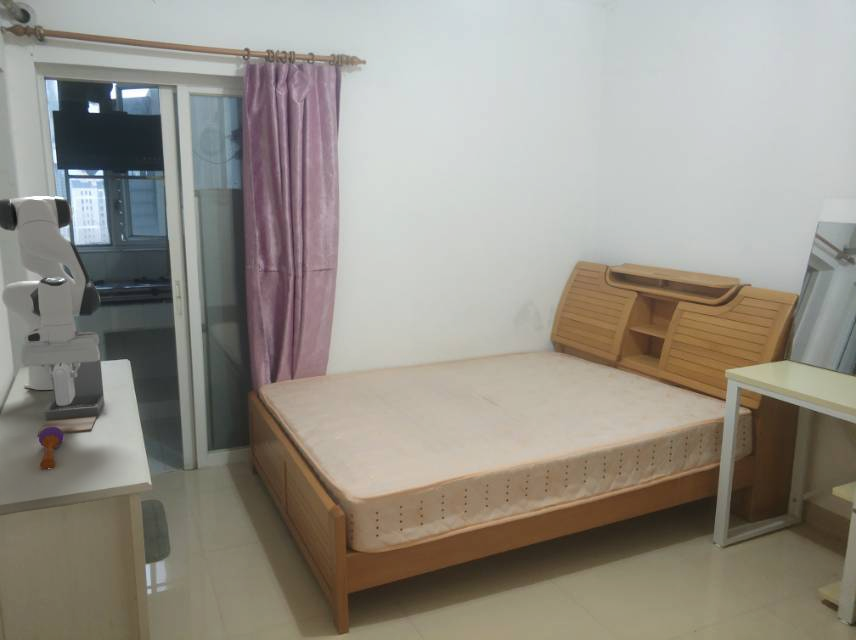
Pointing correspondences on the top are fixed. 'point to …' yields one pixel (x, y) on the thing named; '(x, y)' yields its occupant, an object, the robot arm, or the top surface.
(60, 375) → the photo printer
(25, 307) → the robot arm
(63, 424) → the walnut board
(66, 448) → the top surface
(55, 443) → the maraca
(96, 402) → the equipment case
